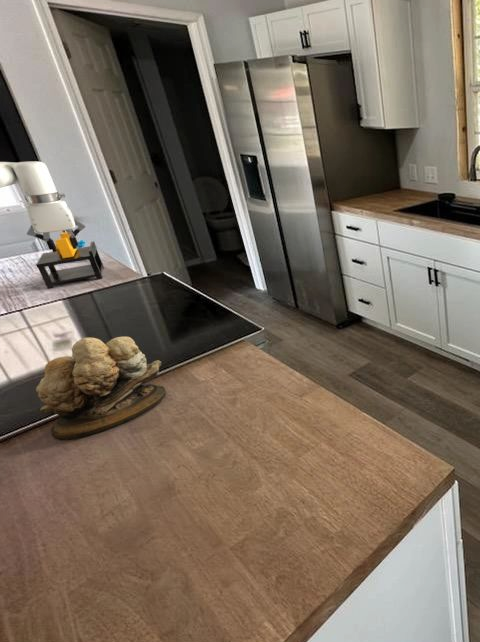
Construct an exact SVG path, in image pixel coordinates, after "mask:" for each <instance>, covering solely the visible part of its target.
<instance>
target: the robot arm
mask: <svg viewBox="0 0 480 642" xmlns="http://www.w3.org/2000/svg"><path fill="white" fill-rule="evenodd" d="M18 184H19V185H20V188H21V189H22V191H23V194H24V196H25V198H26V200H27V203H28V204H26V210H27V215H28V218H29V221H30V224H31V225H30V227H29V228H28V230H27V232H26V235H27V236H30V237H34V238H37V239H39V240H42V241H44V242H45V243H46V245H47V247H48V249H49V250H50V251H51V252H56V243H55V242H54V241H55V240H54V239H52V238H51V236H50V235H51V234H50V233H56V232H57V233H58V232H62V231H65V232H67V233H68V234H69V235H70V238H69V239H70V242H71V244H72V246H73V249H77V246H78V242H79V241H78V240H77V237H76V236H77V235H78V234H79V233H80V232H81V231H83V230H84V229H85V228H86V225H85V224H83V223H82V222H80V221H78V220H77V219H76V218H75V217H74V214H73V213H72V210H71V209H70V207H69V205H68V204H67V202H66V201H65V200H62V199H63V198H66V195H65V193H59V191H57V188H56V185H55V183H54V181H53V178H52V176H51V173H50V170H49V168H48V166H47V165H46V163H44V162H42V161H39V160H38V161H36V160H35V161H33V160H32V161H30V160H29V161H19V162H12V161H11V162H10V161H0V189H1V188H5V187H8V186H12V185H13V186H14V185H18ZM76 226H77V227H76ZM73 229H74V230H73Z"/></svg>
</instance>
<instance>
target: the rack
mask: <svg viewBox="0 0 480 642" xmlns="http://www.w3.org/2000/svg"><path fill="white" fill-rule="evenodd" d="M88 259H89V260H88ZM81 261H89V263H90V264H86V265H79V266H74V267H68V268H62V269H57V268H56V266H58V265H63V264H69V263H75V262H81ZM46 267H48V269H49V271H50V273H48V270H47V268H46ZM36 268H37V269H38V272H39V273H40V276H41V277H42V280H43V281H44V285H45V286H46V288H47V290H51V289H54V287H55V286H54V285H58V284H64V283H68V282H75V281H80V280H84V279H89V278H90V279H91V278H95V279H96V280H102V279H103V275H102V273H103V269H105V266H104V263H103V261H102V258H101V257H100V254H99V251H98V248H97V245H96V243H95V240H94V241H91V242H90V245H88V246H84V247H82V248H78V249H77V251H76V252H75V254H74V256H73V257H67V258H63V257H62V255H58V254H57V251H56V252H53V251H50V252H44V253H43V252H42V254H41V255H40V257H39V259H38V261H37V262H36Z"/></svg>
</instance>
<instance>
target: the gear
mask: <svg viewBox="0 0 480 642" xmlns="http://www.w3.org/2000/svg"><path fill="white" fill-rule="evenodd" d="M77 242H78V246H77V248H82V247H86V242H87V241H86V240H84V239H81V240H80V241H77ZM87 261H89V259H88V260H87Z"/></svg>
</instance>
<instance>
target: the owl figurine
mask: <svg viewBox="0 0 480 642" xmlns="http://www.w3.org/2000/svg"><path fill="white" fill-rule="evenodd" d="M161 366H162V361H160V360H158V359H157V360H154V361H152V362H151V363H147V358H146V355H145V354H144V353H143V352H142V351H141V350H140V349H139V346H138V345H137V344H136V341H135V340H134V339H133V338H132V337H130V336H116V337H114V338H111V339H110V340H108V341H107V342H106V343H104V342H103V341H102V339H99V338H95V337H83V338H81V339H79V340H77V341H76V342H75V343H74V344H73V345H72V347H71V356H69V355H67V356H60V357H56V358H53V359H52V360H50V361H48V362H47V363H46V364H45V367H44V368H45V369H44V377H42V378H41V380H40V382H39V383H38V385H37V386H36V388H35V391H36V393H37V395H38V398H39V399H40V401H41V402H42V403H44V404H45V405H43V406H41V408H40V409H39V411H40V413H42V414H55V415H58V416H59V417H58V418H57V419H56V421H55V422H54V424H53V425H52V427H51V429H50V433H51V435H52V437H54V438H55V439H58V440H61V441H64V440H65V441H66V440H67V441H68V440H74V439H79V438H83V437H87V436H91V435H94V434H98V433H100V432H105V431H107V430H110V429H112V428H115V427H117V426H120V425H122V424H125V423H128V422H130V421H132V420H134V419H136V418H138V417H140V416H142V415H144V414H146V413H147V412H149V411H150V410H152V409H153V408H155V407H156V406H157V405H159V404H160V403H161V402H162V401H163V399H164V398H165V397H166V393H167V391H166V388H165V387H164V386H163V385H157V384H151V383H147V382H149V381H151V380H153V379H154V378H156V377H157V376H158V374H159V373H160V372H159V370H160V367H161ZM145 383H146V384H145Z"/></svg>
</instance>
